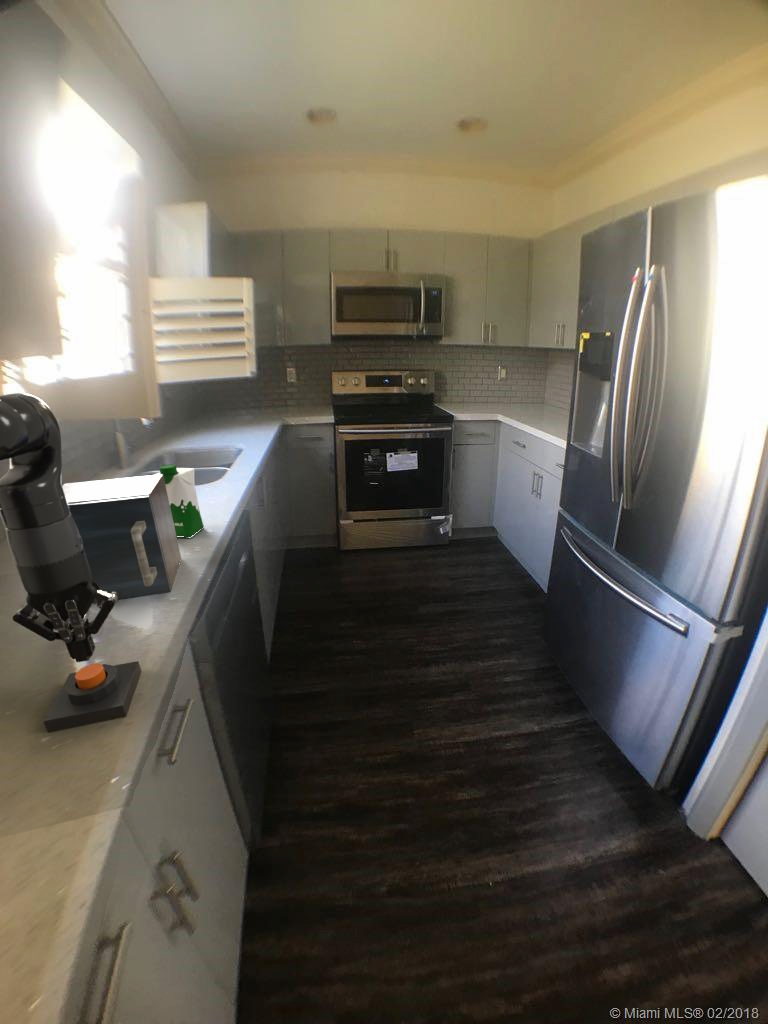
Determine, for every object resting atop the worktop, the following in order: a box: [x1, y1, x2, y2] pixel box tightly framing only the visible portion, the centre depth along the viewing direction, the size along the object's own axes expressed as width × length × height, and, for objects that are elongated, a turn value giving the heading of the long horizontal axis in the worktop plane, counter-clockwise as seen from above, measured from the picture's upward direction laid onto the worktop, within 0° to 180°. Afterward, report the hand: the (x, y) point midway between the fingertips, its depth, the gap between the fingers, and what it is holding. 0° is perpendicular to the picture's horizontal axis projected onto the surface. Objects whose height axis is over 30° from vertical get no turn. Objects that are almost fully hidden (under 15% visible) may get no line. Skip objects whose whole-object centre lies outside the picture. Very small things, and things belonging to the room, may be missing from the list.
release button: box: [75, 663, 106, 689], centre depth 68 cm, size 4×4×2 cm
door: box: [68, 495, 172, 604], centre depth 90 cm, size 6×20×22 cm, turn 105°
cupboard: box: [62, 474, 182, 590], centre depth 100 cm, size 15×20×22 cm
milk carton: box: [154, 463, 205, 537], centre depth 125 cm, size 9×9×20 cm
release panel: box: [43, 660, 142, 734], centre depth 69 cm, size 10×10×4 cm
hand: (85, 657), depth 67 cm, fingers closed
